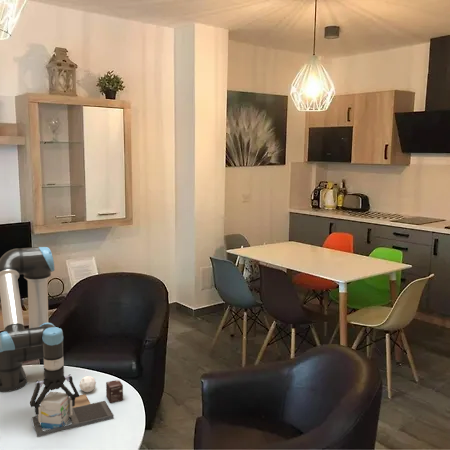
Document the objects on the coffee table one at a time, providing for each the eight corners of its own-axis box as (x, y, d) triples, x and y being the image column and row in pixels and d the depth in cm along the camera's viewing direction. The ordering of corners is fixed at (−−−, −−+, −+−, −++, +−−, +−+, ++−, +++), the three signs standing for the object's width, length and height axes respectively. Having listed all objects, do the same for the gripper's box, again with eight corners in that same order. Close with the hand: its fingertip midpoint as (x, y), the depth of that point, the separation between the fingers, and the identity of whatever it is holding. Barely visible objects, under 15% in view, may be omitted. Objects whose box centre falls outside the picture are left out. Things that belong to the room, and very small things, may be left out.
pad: (62, 400, 222) (62, 398, 222) (85, 395, 226) (85, 393, 226) (67, 411, 213) (67, 409, 213) (90, 406, 218) (90, 404, 218)
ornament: (97, 393, 229) (88, 383, 224) (83, 396, 231) (74, 387, 226) (100, 379, 234) (91, 370, 230) (86, 383, 236) (76, 374, 231)
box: (109, 403, 221) (109, 387, 219) (106, 397, 226) (105, 382, 225) (123, 400, 224) (123, 385, 222) (119, 394, 229) (119, 379, 228)
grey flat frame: (37, 436, 195) (37, 433, 194) (32, 420, 206) (32, 416, 206) (113, 418, 209) (113, 414, 209) (105, 403, 220) (105, 400, 220)
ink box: (60, 430, 199) (59, 403, 197) (40, 428, 201) (39, 401, 199) (70, 419, 208) (69, 392, 206) (51, 416, 209) (50, 390, 207)
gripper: (23, 376, 191) (25, 429, 195) (86, 364, 202) (87, 414, 206) (20, 368, 198) (22, 419, 201) (82, 357, 209) (83, 406, 213)
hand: (55, 417), depth 204 cm, fingers open, 11 cm apart
